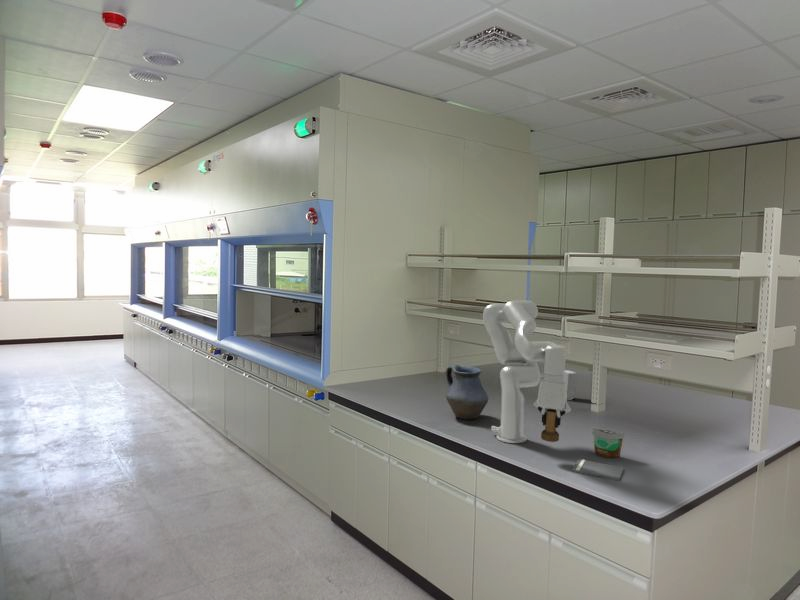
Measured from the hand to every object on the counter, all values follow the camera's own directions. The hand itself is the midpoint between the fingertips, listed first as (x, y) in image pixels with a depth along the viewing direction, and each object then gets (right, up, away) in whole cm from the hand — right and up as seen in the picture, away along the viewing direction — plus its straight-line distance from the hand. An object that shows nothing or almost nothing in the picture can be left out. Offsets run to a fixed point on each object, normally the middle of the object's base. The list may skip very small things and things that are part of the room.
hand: (550, 425), depth 204 cm
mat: (+15, -15, -8) cm, 22 cm away
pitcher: (-26, -10, +59) cm, 65 cm away
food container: (+24, -14, +7) cm, 28 cm away
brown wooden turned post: (0, -6, +1) cm, 6 cm away
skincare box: (+37, -9, +102) cm, 109 cm away
